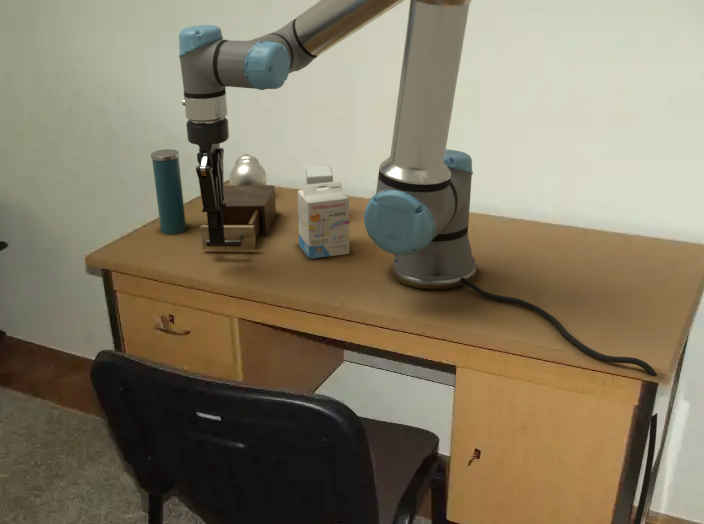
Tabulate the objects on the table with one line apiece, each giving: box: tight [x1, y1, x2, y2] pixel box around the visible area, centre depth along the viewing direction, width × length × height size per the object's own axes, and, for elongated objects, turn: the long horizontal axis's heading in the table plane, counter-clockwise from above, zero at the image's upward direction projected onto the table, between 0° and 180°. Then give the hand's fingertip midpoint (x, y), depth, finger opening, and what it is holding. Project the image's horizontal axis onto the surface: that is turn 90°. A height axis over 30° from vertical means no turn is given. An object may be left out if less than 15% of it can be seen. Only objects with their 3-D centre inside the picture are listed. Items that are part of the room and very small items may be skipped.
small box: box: [305, 164, 334, 188], centre depth 192 cm, size 8×6×10 cm
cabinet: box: [220, 185, 277, 237], centre depth 192 cm, size 14×12×7 cm
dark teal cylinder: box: [150, 148, 187, 235], centre depth 190 cm, size 6×6×17 cm
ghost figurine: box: [229, 153, 268, 186], centre depth 208 cm, size 9×10×10 cm
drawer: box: [200, 209, 262, 251], centre depth 182 cm, size 17×11×5 cm, turn 170°
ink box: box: [297, 180, 350, 260], centre depth 175 cm, size 9×8×13 cm
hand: (217, 242), depth 170 cm, fingers closed
